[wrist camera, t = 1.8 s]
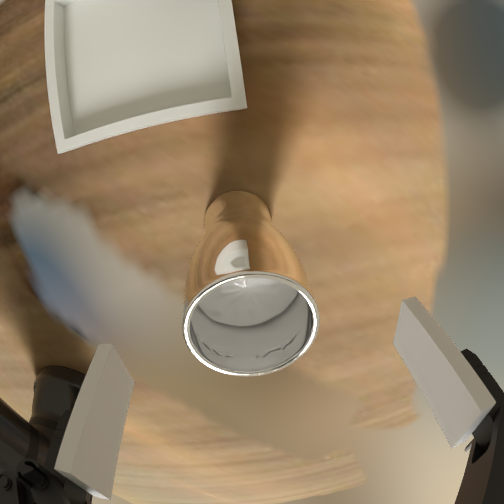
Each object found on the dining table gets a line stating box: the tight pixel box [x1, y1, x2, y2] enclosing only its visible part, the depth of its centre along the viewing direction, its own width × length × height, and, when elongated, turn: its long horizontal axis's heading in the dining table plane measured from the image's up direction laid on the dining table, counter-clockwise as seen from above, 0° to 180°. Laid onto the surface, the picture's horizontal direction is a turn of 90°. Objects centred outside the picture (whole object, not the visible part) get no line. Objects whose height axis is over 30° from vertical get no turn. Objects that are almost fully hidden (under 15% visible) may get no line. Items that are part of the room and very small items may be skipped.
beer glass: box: [182, 191, 320, 376], centre depth 20 cm, size 7×7×15 cm
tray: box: [45, 0, 247, 154], centre depth 18 cm, size 16×16×3 cm
